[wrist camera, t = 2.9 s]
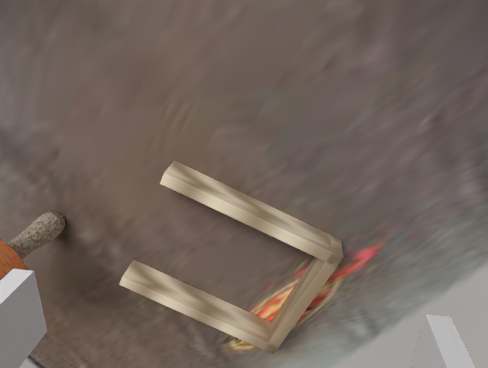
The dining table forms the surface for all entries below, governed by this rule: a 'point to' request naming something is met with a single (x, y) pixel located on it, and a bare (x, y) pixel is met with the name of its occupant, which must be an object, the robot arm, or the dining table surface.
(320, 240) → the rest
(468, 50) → the dining table surface
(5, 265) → the mushroom
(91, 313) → the dining table surface
